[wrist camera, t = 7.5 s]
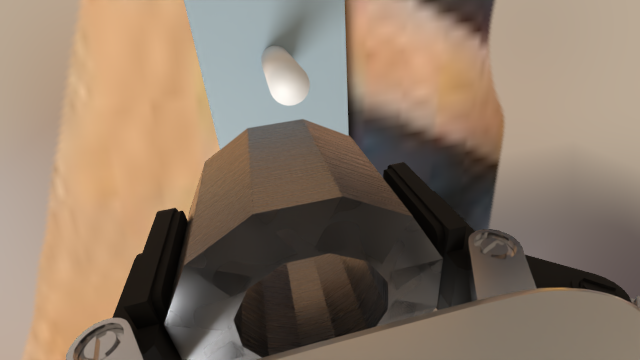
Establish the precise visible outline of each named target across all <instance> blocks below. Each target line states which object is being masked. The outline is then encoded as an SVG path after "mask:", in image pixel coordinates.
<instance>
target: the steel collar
mask: <svg viewBox="0 0 640 360" xmlns="http://www.w3.org/2000/svg"><path fill="white" fill-rule="evenodd" d="M442 264H443V258H442V256H441V255H440V254H439V252H438V251H437V250H436V248H435V247H434V246H433V244H432V243H431V241H430V240H429V239H428V237H427V236H426V234H425V233H424V232H423V230H422V229H421V227H420V226H419V225H418V223H417V222H416V220H415V219H414V218H413V216H412V215H411V213H410V212H409V211H408V209H407V208H406V207H405V206H404V204H403V203H402V202H401V200H400V199H399V198H398V197H397V195H396V194H395V193H394V192H393V190H392V189H391V188H390V186H389V185H388V184H387V183H386V181H385V180H384V179H383V177H382V176H381V175H380V174H379V172H378V171H377V170H376V169H375V167H374V166H373V165H372V163H371V162H370V161H369V160H368V158H367V157H366V156H365V154H364V153H363V152H362V151H361V149H360V148H359V147H358V146H357V144H356V143H355V142H354V140H353V139H352V138H351V137H350V136H348V135H345V134H342V133H340V132H337V131H334V130H332V129H329V128H326V127H323V126H321V125H318V124H315V123H313V122H310V121H307V120H304V119H300V120H293V121H287V122H281V123H275V124H269V125H263V126H257V127H251V128H247V129H246V130H244V131H243V132H242V133H241V134H239V135H238V136H237V137H236V138H234V139H233V140H232V141H231V142H229V143H228V144H227V145H226V146H224V147H223V148H222V149H221V150H219V151H218V152H217V153H216V154H214V155H213V156H212V157H211V158H209V159H208V160H207V161H205V164H204V167H203V171H202V174H201V177H200V180H199V183H198V186H197V189H196V192H195V196H194V199H193V202H192V205H191V208H190V212H189V217H188V222H187V227H186V231H185V235H184V240H183V244H182V249H181V253H180V257H179V262H178V266H177V271H176V275H175V279H174V284H173V288H172V293H171V297H170V302H169V306H168V310H167V314H166V317H165V321H164V326H165V328H166V330H167V332H168V334H169V336H170V338H171V340H172V341H173V343H174V345H175V347H176V349H177V351H178V353H179V354H180V356H181V358H182V360H256V359H259V358H263V357H267V356H270V355H274V354H277V353H281V352H285V351H288V350H292V349H296V348H299V347H303V346H307V345H310V344H314V343H318V342H321V341H325V340H329V339H332V338H336V337H340V336H343V335H347V334H351V333H355V332H358V331H362V330H366V329H369V328H373V327H377V326H381V325H384V324H388V323H392V322H396V321H399V320H403V319H407V318H411V317H414V316H418V315H422V314H426V313H430V312H433V311H434V309H435V308H436V307H437V301H438V293H439V286H440V279H441V271H442Z"/></svg>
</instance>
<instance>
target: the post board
mask: <svg viewBox="0 0 640 360" xmlns="http://www.w3.org/2000/svg"><path fill="white" fill-rule="evenodd" d="M184 3H185V7H186V11H187V15H188V19H189V23H190V27H191V32H192V36H193V40H194V44H195V48H196V52H197V56H198V60H199V65H200V69H201V73H202V77H203V81H204V85H205V89H206V93H207V98H208V102H209V106H210V110H211V114H212V118H213V122H214V126H215V131H216V135H217V139H218V143H219V147H220V150H221V149H222V148H223V147H224V146H226V145H227V144H228V143H229V142H231V141H232V140H233V139H234V138H236V137H237V136H238V135H239V134H241V133H242V132H243V131H244V130H246V129H247V128H251V127H257V126H263V125H269V124H275V123H281V122H287V121H293V120H300V119H304V120H307V121H310V122H313V123H315V124H318V125H321V126H323V127H326V128H329V129H332V130H334V131H337V132H340V133H342V134H345V135H348V136H349V134H348V100H347V66H346V32H345V0H184Z"/></svg>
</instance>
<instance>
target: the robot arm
mask: <svg viewBox="0 0 640 360" xmlns="http://www.w3.org/2000/svg"><path fill="white" fill-rule="evenodd" d="M383 179H384V180H385V181H386V183H387V184H388V185H389V186H390V188H391V189H392V190H393V192H394V193H395V194H396V195H397V197H398V198H399V199H400V200H401V202H402V203H403V204H404V206H405V207H406V208H407V209H408V211H409V212H410V213H411V215H412V216H413V218H414V219H415V220H416V222H417V223H418V225H419V226H420V227H421V229H422V230H423V232H424V233H425V234H426V236H427V237H428V239H429V240H430V241H431V243H432V244H433V246H434V247H435V248H436V250H437V251H438V252H439V254H440V255H441V256H442V258H443V264H442V271H441V279H440V286H439V293H438V301H437V307H436V308H435V309H434V311H433V312H430V313H426V314H422V315H418V316H414V317H411V318H407V319H403V320H399V321H396V322H392V323H388V324H384V325H381V326H377V327H373V328H369V329H366V330H362V331H358V332H355V333H351V334H347V335H343V336H340V337H336V338H332V339H329V340H325V341H321V342H318V343H314V344H310V345H307V346H303V347H299V348H296V349H292V350H288V351H285V352H281V353H277V354H274V355H270V356H267V357H263V358H259V359H256V360H640V296H637V297H636V299H635V300H634V299H631V298H630V297H629V296H628V294H627V293H626V292H625V291H624V290H623V289H622V288H621V287H619V286H618V285H617V284H615V283H614V282H612V281H610V280H608V279H606V278H604V277H601V276H599V275H596V274H593V273H589V272H585V271H582V270H578V269H574V268H571V267H567V266H564V265H560V264H556V263H553V262H549V261H545V260H542V259H539V258H535V257H531V256H528V255H525V254H524V251H523V248H522V246H521V245H520V243H519V242H518V241H517V240H516V239H515V238H514V237H512V236H510V235H509V234H507V233H504V232H501V231H498V230H492V229H482V230H478V231H474V230H473V229H472V228H471V227H470V226H469V225H468V224H467V223H466V222H465V221H464V220H463V219H462V218H461V217H460V216H459V215H458V214H457V213H456V212H455V211H454V210H453V209H452V208H451V207H450V206H449V205H448V204H447V203H446V202H445V201H444V200H443V199H442V198H441V197H440V196H439V195H438V194H437V193H436V192H434V191H432V190H431V189H430V188H429V187H428V186H427V185H426V184H425V183H424V182H423V181H422V180H421V179H420V178H419V177H418V176H417V175H416V174H415V173H414V172H413V171H412V170H411V169H410V168H409V167H408V166H407V165H406V164H405V163H404V162H402V163H397V164H392V165H389V166H388V169H386V170H384V174H383ZM187 222H188V221H187V219H186V216H185V214H184V212H183V211H179V212H178V210H177V209H176V208H173V209H168V210H163V211H158V212H157V214H156V217H155V220H154V222H153V225H152V228H151V231H150V233H149V236H148V239H147V242H146V245H145V247H144V250H143V253H141V254H138V255H137V256H136V258H135V260H134V263H133V265H132V268H131V271H130V273H129V276H128V278H127V281H126V284H125V286H124V289H123V292H122V294H121V297H120V299H119V302H118V305H117V307H116V310H115V313H114V315H113V318H110V319H106V320H103V321H101V322H98V323H96V324H94V325H93V326H91V327H90V328H88V329H87V330H85V331H84V332H83V333H82V334H81V335H80V336H79V337H78V338H76V340H75V341H74V342H73V344H72V345H71V346H70V348H69V350H68V353H67V355H66V360H182V358H181V356H180V354H179V353H178V351H177V349H176V347H175V345H174V343H173V341H172V340H171V338H170V336H169V334H168V332H167V330H166V328H165V326H164V321H165V317H166V314H167V310H168V306H169V302H170V297H171V293H172V288H173V284H174V279H175V275H176V271H177V266H178V262H179V257H180V253H181V249H182V244H183V240H184V235H185V231H186V227H187Z"/></svg>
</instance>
